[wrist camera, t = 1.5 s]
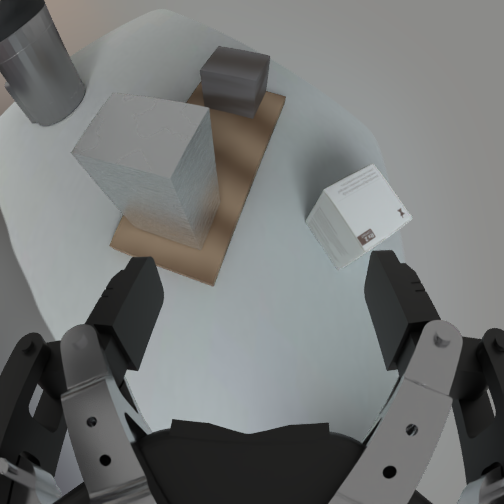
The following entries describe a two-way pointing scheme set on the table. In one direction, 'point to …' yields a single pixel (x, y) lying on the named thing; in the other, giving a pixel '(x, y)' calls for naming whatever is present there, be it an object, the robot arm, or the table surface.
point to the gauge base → (219, 160)
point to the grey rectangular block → (155, 164)
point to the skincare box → (356, 215)
